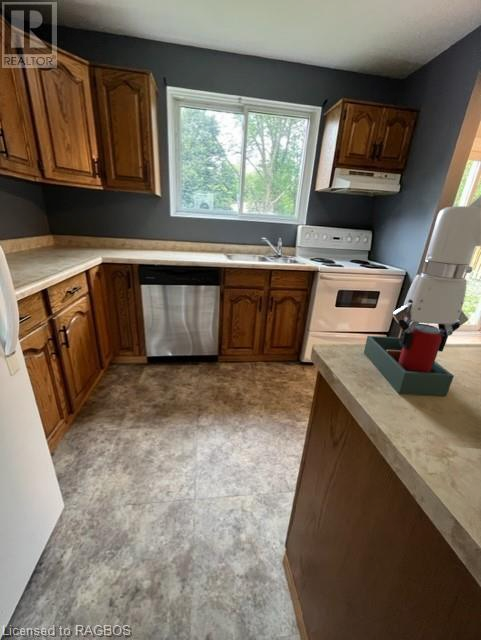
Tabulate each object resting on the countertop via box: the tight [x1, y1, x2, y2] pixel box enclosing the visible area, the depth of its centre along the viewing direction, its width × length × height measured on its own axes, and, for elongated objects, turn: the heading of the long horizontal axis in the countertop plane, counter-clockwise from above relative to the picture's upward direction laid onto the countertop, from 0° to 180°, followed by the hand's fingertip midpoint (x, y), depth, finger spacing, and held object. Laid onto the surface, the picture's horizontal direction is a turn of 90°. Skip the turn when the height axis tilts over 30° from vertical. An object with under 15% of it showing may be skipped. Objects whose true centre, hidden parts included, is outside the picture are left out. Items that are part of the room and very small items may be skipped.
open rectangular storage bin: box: [363, 335, 455, 398], centre depth 69 cm, size 11×20×6 cm, turn 178°
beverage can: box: [398, 323, 442, 373], centre depth 63 cm, size 7×7×12 cm
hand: (420, 347), depth 63 cm, fingers closed on beverage can, 6 cm apart
